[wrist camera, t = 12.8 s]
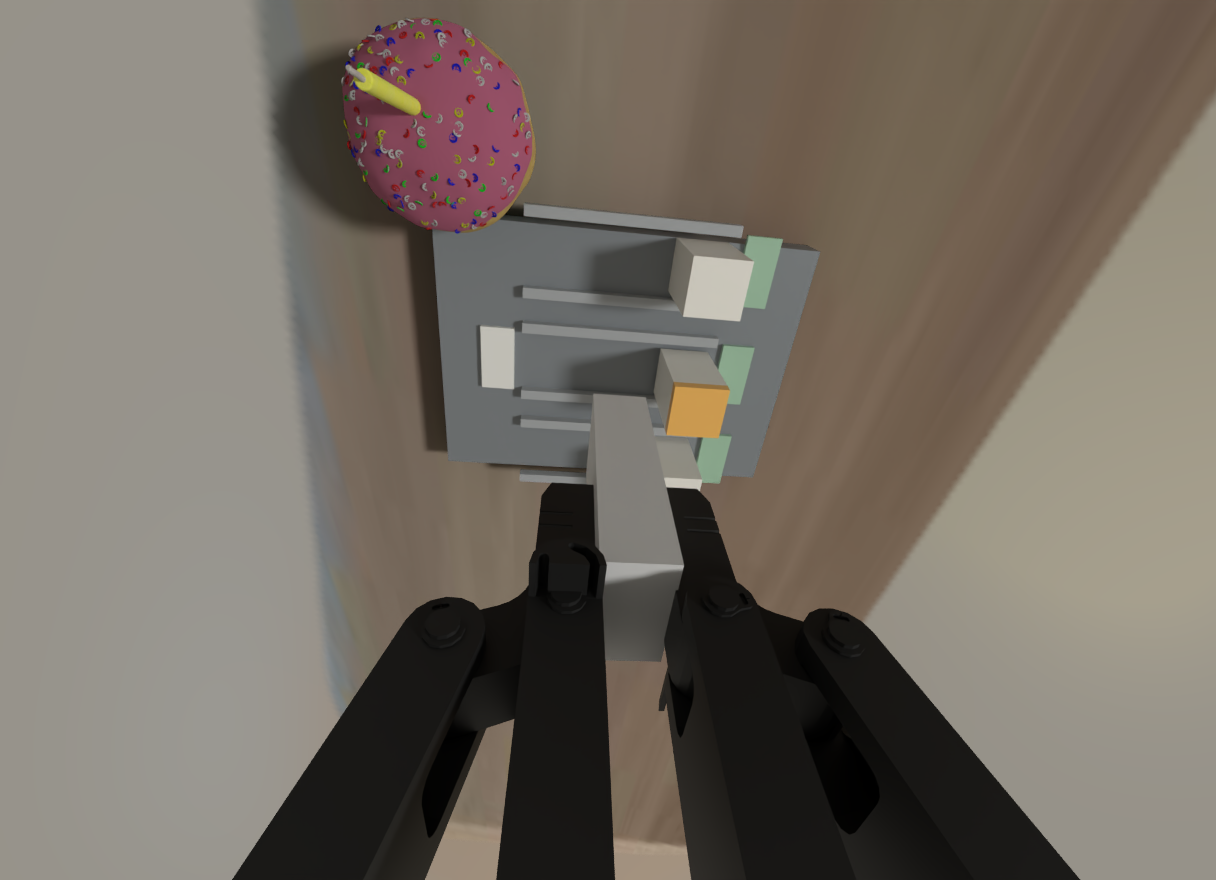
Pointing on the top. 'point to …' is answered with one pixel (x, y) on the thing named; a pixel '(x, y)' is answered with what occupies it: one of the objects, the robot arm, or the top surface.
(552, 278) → the panel
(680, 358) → the breaker handle
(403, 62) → the cupcake
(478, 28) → the top surface
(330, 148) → the top surface
